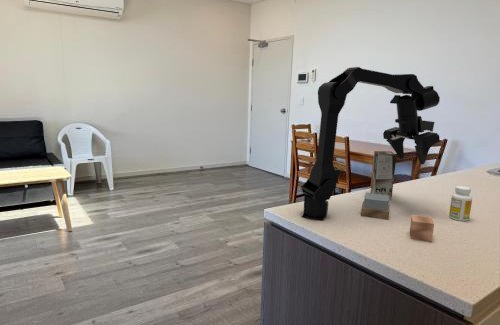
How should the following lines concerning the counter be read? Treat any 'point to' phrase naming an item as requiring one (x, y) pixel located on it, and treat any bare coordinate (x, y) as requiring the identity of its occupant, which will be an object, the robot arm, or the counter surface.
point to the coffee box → (383, 173)
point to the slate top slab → (376, 201)
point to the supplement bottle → (461, 204)
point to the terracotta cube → (421, 228)
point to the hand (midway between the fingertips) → (411, 161)
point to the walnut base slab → (375, 213)
